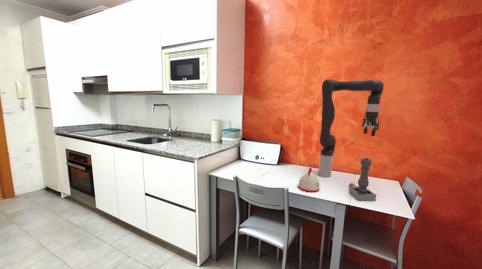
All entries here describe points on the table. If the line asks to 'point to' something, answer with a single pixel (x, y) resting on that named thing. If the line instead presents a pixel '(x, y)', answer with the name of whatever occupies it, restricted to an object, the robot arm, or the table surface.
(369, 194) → the grey tray
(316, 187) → the beige red dome
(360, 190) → the candle holder
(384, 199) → the table surface
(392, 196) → the table surface
